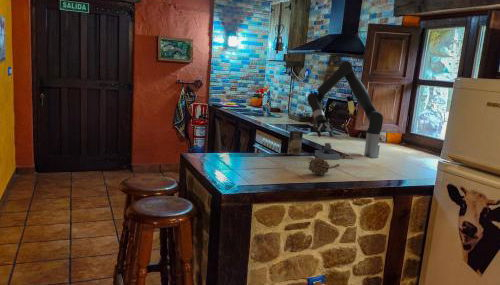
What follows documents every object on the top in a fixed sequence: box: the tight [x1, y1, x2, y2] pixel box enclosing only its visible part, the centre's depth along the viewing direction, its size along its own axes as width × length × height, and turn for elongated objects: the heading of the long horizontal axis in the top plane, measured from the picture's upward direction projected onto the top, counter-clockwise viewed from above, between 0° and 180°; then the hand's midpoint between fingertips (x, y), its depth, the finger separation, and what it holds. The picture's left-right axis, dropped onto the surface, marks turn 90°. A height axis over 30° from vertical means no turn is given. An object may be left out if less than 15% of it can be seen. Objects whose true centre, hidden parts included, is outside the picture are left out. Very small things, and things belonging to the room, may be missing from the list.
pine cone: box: [308, 157, 340, 176], centre depth 238 cm, size 22×10×10 cm, turn 124°
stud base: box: [339, 152, 354, 160], centre depth 285 cm, size 11×11×5 cm
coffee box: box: [287, 130, 304, 156], centre depth 290 cm, size 9×6×16 cm
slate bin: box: [314, 149, 341, 162], centre depth 281 cm, size 12×13×5 cm
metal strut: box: [323, 142, 333, 154], centre depth 280 cm, size 4×4×10 cm
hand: (325, 136), depth 283 cm, fingers open, 8 cm apart
